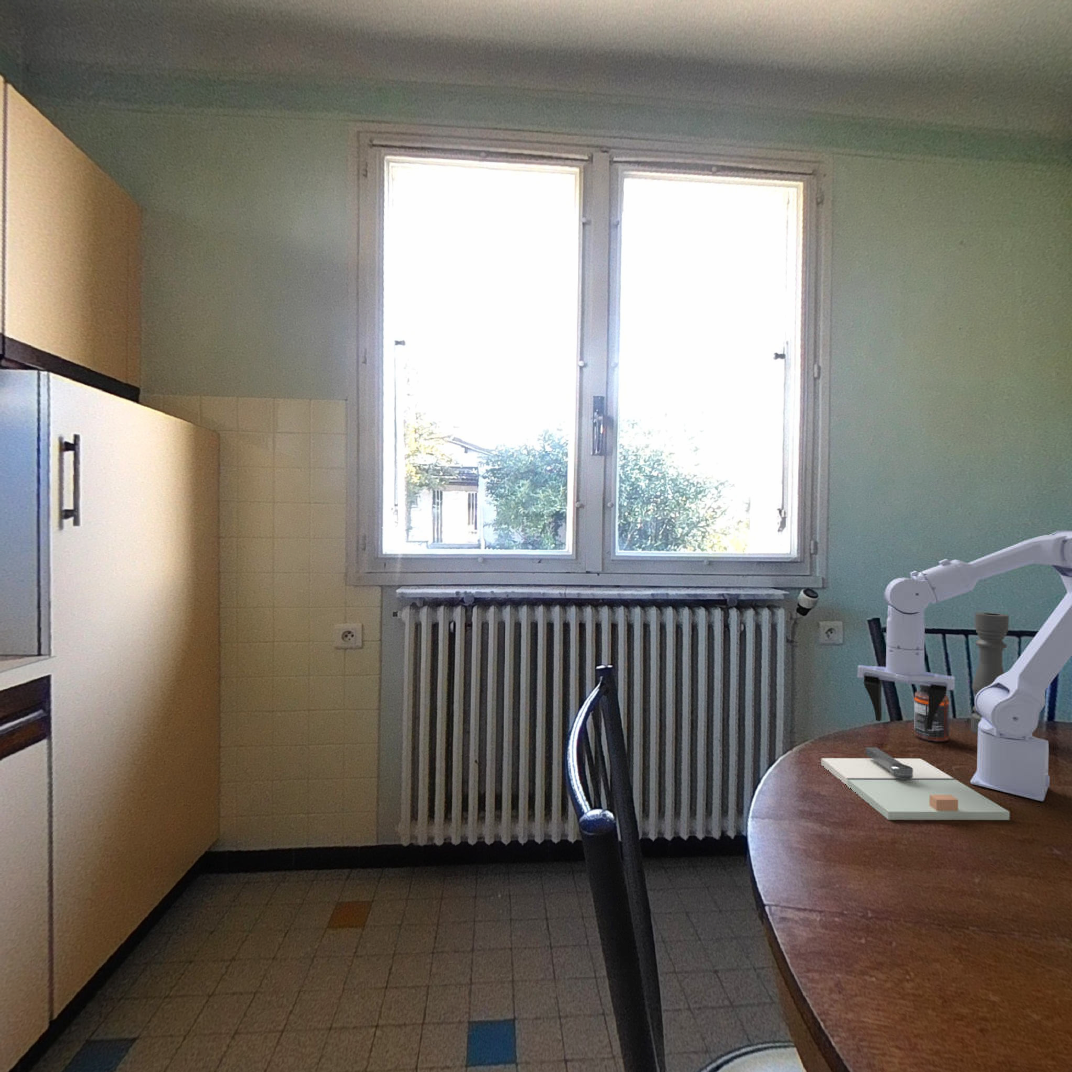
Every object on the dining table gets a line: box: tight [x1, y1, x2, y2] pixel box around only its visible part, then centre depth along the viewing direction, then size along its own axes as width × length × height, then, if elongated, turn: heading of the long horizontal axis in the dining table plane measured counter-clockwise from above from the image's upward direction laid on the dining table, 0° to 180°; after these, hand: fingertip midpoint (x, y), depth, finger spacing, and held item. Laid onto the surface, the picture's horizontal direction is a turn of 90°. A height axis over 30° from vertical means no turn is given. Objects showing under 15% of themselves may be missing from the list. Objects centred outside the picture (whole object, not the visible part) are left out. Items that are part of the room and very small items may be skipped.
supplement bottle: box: [913, 685, 950, 743], centre depth 125 cm, size 6×6×11 cm
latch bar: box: [865, 746, 913, 778], centre depth 105 cm, size 11×3×1 cm, turn 1°
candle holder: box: [970, 611, 1010, 735], centre depth 128 cm, size 6×6×25 cm
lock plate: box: [820, 757, 1011, 821], centre depth 100 cm, size 18×20×3 cm
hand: (903, 723), depth 107 cm, fingers open, 7 cm apart
